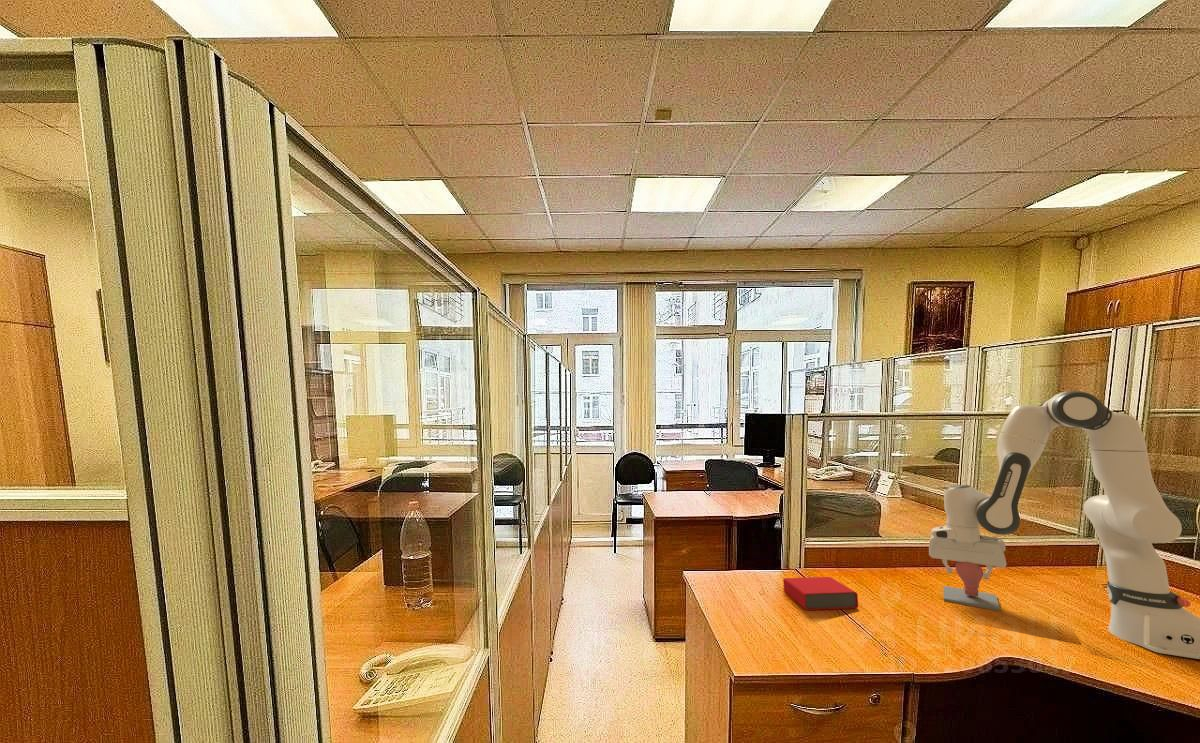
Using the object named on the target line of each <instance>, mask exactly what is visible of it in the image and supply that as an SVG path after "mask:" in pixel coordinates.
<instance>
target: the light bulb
mask: <svg viewBox="0 0 1200 743" xmlns="http://www.w3.org/2000/svg"><path fill="white" fill-rule="evenodd" d="M981 566H982V565H980V564H974V563H971V562H959V561H956V564H955V566H954V568H955V571H956V573H957V575H958V577H959V578H960V580H961V581H962V582H963V586H964V587H963V589H964V592H965V594H966V595H969V596H972V597H974V596H978V592H979V588H980V583H981V581H982V578H983V572H984V571H983V569H982V567H981Z"/></svg>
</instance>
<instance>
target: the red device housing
mask: <svg viewBox="0 0 1200 743" xmlns="http://www.w3.org/2000/svg"><path fill="white" fill-rule="evenodd" d="M783 591H784V592H785V593H786V595H788V596H789V597H790V598H791V597H792V600H794V601H795V602H796V603H798V605H800V606H801V607H802V608H804V609H805V610H807V611H810V610H811V611H813V610H816V611H817V610H843V609H844V610H845V609H848V610H849V609H857V608H859V596H858V593H857V591H854V590H853V589H851V588H849V587H848V586H846V585H844V584H842V583H841V582H839V581H838V580H836V579H834V578H833V577H831V576H817V577H816V576H815V577H813V576H812V577H785V578H783Z"/></svg>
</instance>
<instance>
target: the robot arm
mask: <svg viewBox="0 0 1200 743" xmlns="http://www.w3.org/2000/svg"><path fill="white" fill-rule="evenodd" d="M1057 427H1062V428H1063V427H1067V428H1080V429H1081V430H1083V431H1084V432H1085V433H1086V435H1087V436H1086V437H1087V438H1088V442H1089V450H1090V457H1091V463H1092V464H1091V465H1092V471H1093V472H1092V473H1093V474H1094V477H1095V479H1096V480H1097V481H1098V482H1099V483H1100V485H1101V487H1102V488H1103V490H1104V493H1105V494H1098V495H1093V496H1090V497H1089V498H1087V499H1086V501H1085V502H1084V504H1083V513H1084V515H1085V516H1086V517H1087V519H1088V520H1089V521H1090V523H1091V524H1092V526H1093V528H1094V532H1095V533H1096V535H1097V536H1096V537H1097V538H1098V540H1099V542H1100V545H1101V548H1102V550H1103V552H1104V554H1103V555H1104V558H1105V564H1106V568H1107V570H1106V571H1107V575H1108V576H1107V577H1108V580H1107V582H1106V584H1107V586H1106V589H1107V596H1108V599H1109V602H1110V618H1109V619H1110V620H1109V624H1108V627H1107V630H1108V632H1109V633H1110V634H1112V635H1113V636H1115V637H1116V638H1118V639H1121V640H1122V641H1125V642H1128V643H1131V644H1133V645H1137V646H1139V647H1143V648H1145V649H1148V650H1149V651H1153V652H1154V653H1158V654H1164V655H1171V656H1176V657H1184V658H1191V659H1196V660H1200V617H1198V616H1197V615H1196V614H1193V613H1192V612H1190V611H1189V610H1187V609H1186V608H1189V607H1190V606H1192V603H1191V602H1190V601H1189V600H1188V599H1187V598H1186V597H1182V596H1180V595H1179V594H1177V593H1175V592H1173V591H1171V590H1170V585H1169V577H1168V571H1167V566H1166V563H1165V561H1164V559H1163V558H1162V557H1161V556H1160V555H1159V554H1158V552H1157V551H1156V548H1155V547H1154V546H1153V543H1154V544H1166V543H1170V542H1173V541H1175V540H1177V539H1178V538H1179V537H1180V536H1181V534H1182V531H1183V530H1182V529H1183V528H1182V523H1181V521H1180V519H1179V518H1178V517H1177V516H1176V515H1175V514H1174V513H1173V512H1172V511H1171V510H1170V509H1169V507H1168V506H1167V505H1166V503H1165V501H1164V499H1163V498H1162V496H1161V494H1160V492H1159V490H1158V488H1157V486H1156V483H1155V481H1154V478H1153V476H1152V470H1151V466H1150V464H1151V463H1150V459H1149V453H1148V448H1147V443H1146V439H1145V435H1144V433H1143V430H1142V428H1141V426H1140V424H1139V421H1138V420H1137V419H1136V418H1135V417H1134V416H1132V415H1129V414H1128V413H1127V414H1126V413H1123V412H1122V413H1121V412H1115V411H1114V412H1113V411H1112V410H1110V409H1109V408H1108V407H1107V406H1106V405H1105V404H1104V403H1103V402H1102V400H1100V399H1099V398H1098V397H1096V396H1095V395H1093V394H1091V393H1089V392H1086V391H1081V390H1070V391H1062V392H1060V393H1057V394H1055V395H1053V396H1051V397H1049V398H1048V399H1046V400H1045V401H1044V402H1042V403H1040V405H1034V404H1020V405H1016V406H1015V407H1013V408H1012V410H1011V411H1010V412H1009V414H1008V416H1007V417H1006V420H1005V421H1004V423H1003V425H1002V427H1001V429H1000V431H999V432H1000V433H999V435H998V438H997V442H996V456H997V459H998V464H999V465H998V466H999V469H998V476H997V477H996V479H995V480H996V481H995V484H994V486H993V489H992V493H991V494H988V493H985V492H983V491H980V490H978V489H976V488H975V487H973V486H972V485H969V484H957V485H950V486H948V487H947V488H945V490H944V493H943V504H944V505H943V506H944V512H945V513H946V520H945V525H944V526H943V525H941V526H934V527H932V528H931V531H930V532H931V535H930V537H929V540H928V555H929V557H931V558H932V559H938V560H939V559H940V560H941V561H942V564H943V565H944V567H945V568H946V572H947V574H953V573H954V572H953V567H950V566H949V564H948V561H954V562H958V561H959V562H971V563H974V564H979V565H980V566H986V569H987V570H986V571H983V576H982V578H983V579H984V580H990V574H991V573H992V571H993V570H994V569H993V567H995V568H1006V566H1007V560H1006V557H1005V553H1004V552H1006V543H1005V541H1004V540H1003V539H1000V538H999V537H998V536H987V535H981V531H980V530H981V529H980V526H981V527H982V528H983V529H985V530H986V531H987V532H989V533H991V534H994V535H1000V536H1005V535H1010V534H1013V533H1014V532H1016V531H1017V530H1018V529H1019V527H1020V524H1021V519H1020V518H1021V517H1020V514H1019V508H1018V507H1019V506H1018V505H1019V501H1020V498H1021V496H1022V493H1023V490H1024V487H1025V483H1026V481H1027V478H1028V476H1029V474H1031V471H1032V470H1033V468H1034V466H1035V465H1036V464H1037V462H1038V461H1039V459H1040V458H1041V455H1042V453H1043V452H1044V449H1045V447H1046V444H1047V442H1048V440H1049V436H1050V434H1051V433H1052V432H1053V430H1055V428H1057ZM1184 607H1185V608H1184Z"/></svg>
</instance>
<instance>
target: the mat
mask: <svg viewBox="0 0 1200 743" xmlns="http://www.w3.org/2000/svg"><path fill="white" fill-rule="evenodd" d="M942 587H943V601H944V602H949V603H955V604H959V605H965V606H971V607H975V608H976V607H977V608H980V609H986V610H992V611H996V612H997V611H998V612H1001V608H1000V605H999V601H998V598H997V595H996V594H994V593H989V592H983V591H978V596H974V597H972V596H969V595H966V594H965V592H964V588H958V587H955V586H947V585H943V586H942Z"/></svg>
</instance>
